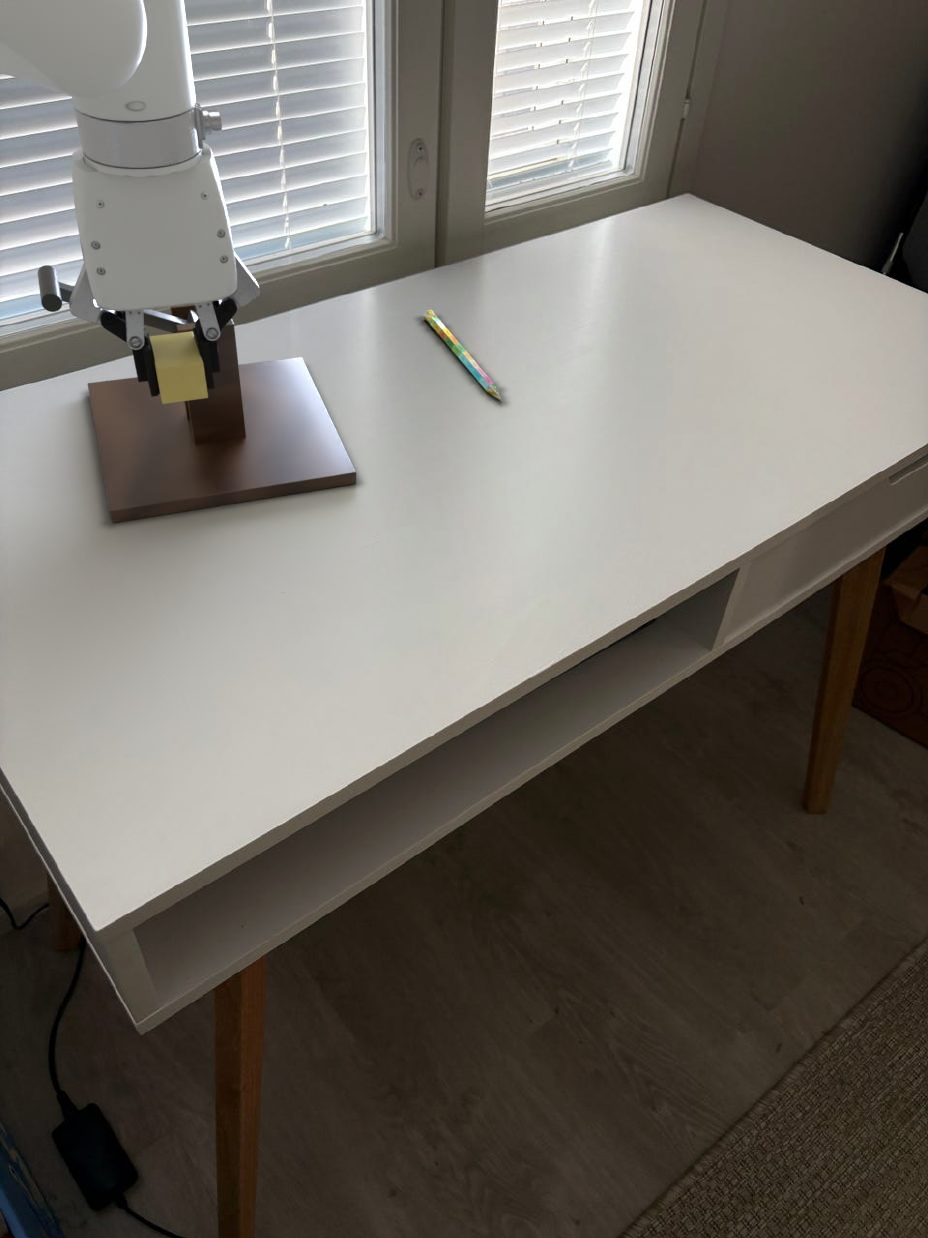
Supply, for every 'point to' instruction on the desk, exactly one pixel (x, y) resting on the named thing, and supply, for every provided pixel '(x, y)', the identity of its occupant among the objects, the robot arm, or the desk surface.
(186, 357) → the butter
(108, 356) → the desk surface
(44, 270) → the lever
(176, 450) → the slicer
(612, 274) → the desk surface
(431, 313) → the pencil
